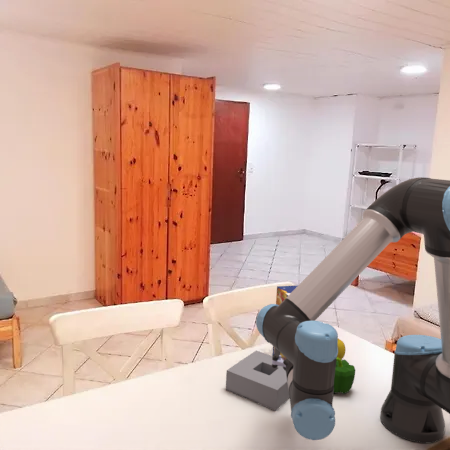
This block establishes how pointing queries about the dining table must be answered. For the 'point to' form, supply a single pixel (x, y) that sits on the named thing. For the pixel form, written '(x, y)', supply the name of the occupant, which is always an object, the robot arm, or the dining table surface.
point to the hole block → (258, 381)
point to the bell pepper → (343, 376)
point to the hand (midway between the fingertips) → (295, 333)
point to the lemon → (340, 349)
